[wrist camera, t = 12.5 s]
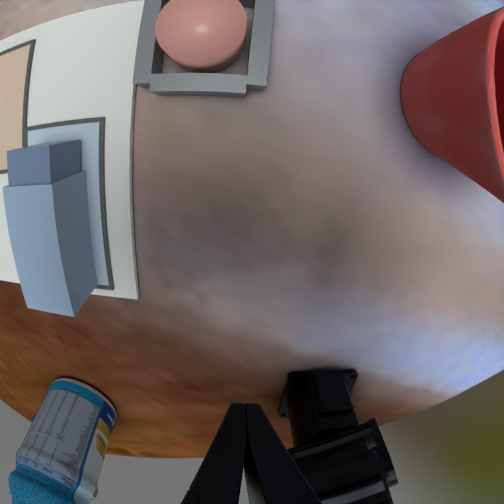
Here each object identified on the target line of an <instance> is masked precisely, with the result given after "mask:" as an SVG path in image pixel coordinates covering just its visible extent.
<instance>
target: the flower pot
mask: <svg viewBox="0 0 504 504" xmlns="http://www.w3.org/2000/svg"><path fill="white" fill-rule="evenodd" d="M401 101H402V107H403V111H404V114H405V118H406V120H407V123H408V125H409V127H410V129H411V130H412V132H413V134H414V135H415V136H416V138H417V139H418V141H419V142H420V143H421V144H422V145H423V146H424V147H425V148H427V149H428V150H429V151H431V152H432V153H434V154H435V155H437V156H438V157H440V158H441V159H443V160H444V161H446V162H447V163H449V164H450V165H451V166H453V167H454V168H456V169H457V170H459V171H460V172H461V173H463V174H464V175H466V176H467V177H469V178H470V179H472V180H473V181H475V182H476V183H477V184H479V185H480V186H482V187H483V188H484V189H486V190H487V191H488V192H490V193H491V194H493V195H494V196H495V197H497V198H498V199H499V200H500V201H502V202H503V203H504V7H502V8H499V9H497V10H495V11H493V12H491V13H488V14H486V15H484V16H482V17H480V18H478V19H476V20H474V21H472V22H471V23H469V24H467V25H465V26H463V27H461V28H459V29H458V30H456V31H454V32H452V33H450V34H449V35H447V36H445V37H443V38H442V39H440V40H438V41H437V42H435V43H434V44H432V45H431V46H429V47H428V48H426V49H425V50H423V51H422V52H421V53H419V54H418V55H417V56H415V57H414V58H413V59H412V60H411V61H410V63H409V64H408V66H407V68H406V70H405V72H404V75H403V78H402V84H401Z"/></svg>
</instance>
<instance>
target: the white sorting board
mask: <svg viewBox="0 0 504 504" xmlns="http://www.w3.org/2000/svg"><path fill="white" fill-rule="evenodd" d="M144 1H145V0H141V1H133V2H127V3H121V4H115V5H110V6H105V7H100V8H95V9H91V10H87V11H83V12H79V13H75V14H72V15H68V16H65V17H61V18H58V19H55V20H52V21H49V22H46V23H43V24H40V25H37V26H34V27H32V28H29V29H27V30H24V31H22V32H19V33H17V34H14V35H12V36H10V37H7V38H5V39H3V40H1V41H0V280H3V281H9V282H14V283H20V281H19V277H18V273H17V269H16V265H15V261H14V256H13V252H12V247H11V242H10V237H9V231H8V225H7V219H6V213H5V205H4V197H3V187H4V186H7V185H9V183H8V169H7V151H10V150H14V149H18V148H22V147H27V146H31V145H36V144H42V143H50V142H59V141H68V140H79V139H80V171H86V175H87V196H88V210H89V222H90V232H91V241H92V249H93V256H94V263H95V270H96V276H97V282H98V285H97V286H96V288H95V289H94V290H93V292H92V293H91V294H94V295H102V296H110V297H119V298H128V299H138V298H139V287H138V278H137V267H136V255H135V242H134V224H133V196H132V150H133V123H134V106H135V93H136V85H134V84H133V74H134V65H135V56H136V49H137V42H138V35H139V29H140V23H141V17H142V12H143V6H144Z"/></svg>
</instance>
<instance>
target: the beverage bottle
mask: <svg viewBox="0 0 504 504" xmlns="http://www.w3.org/2000/svg"><path fill="white" fill-rule="evenodd" d="M115 421H116V411H115V409H114V407H113V405H112V404H111V403H110V401H109V400H108V399H107V398H106V397H105V396H104V395H102V394H101V393H100V392H98V391H97V390H96V389H94V388H92V387H91V386H89V385H87V384H85V383H83V382H80V381H77V380H74V379H69V378H60V379H57V380H55V381H54V382H53V383H52V384H51V386H50V388H49V390H48V392H47V395H46V396H45V398H44V400H43V402H42V404H41V406H40V408H39V410H38V412H37V414H36V416H35V418H34V420H33V422H32V424H31V426H30V428H29V430H28V433H27V435H26V437H25V439H24V441H23V443H22V446H21V447H20V448H19V449H18V451H17V453H16V456H15V463H16V469H15V470H14V471H13V472H11V473H10V474H9V478H8V486H9V492H10V496H11V500H12V503H13V504H91V503H92V502H93V501H94V500H95V499H96V496H97V493H98V487H97V484H98V480H99V476H100V472H101V467H102V464H103V460H104V457H105V453H106V449H107V446H108V442H109V439H110V435H111V432H112V429H113V427H114V425H115Z"/></svg>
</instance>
